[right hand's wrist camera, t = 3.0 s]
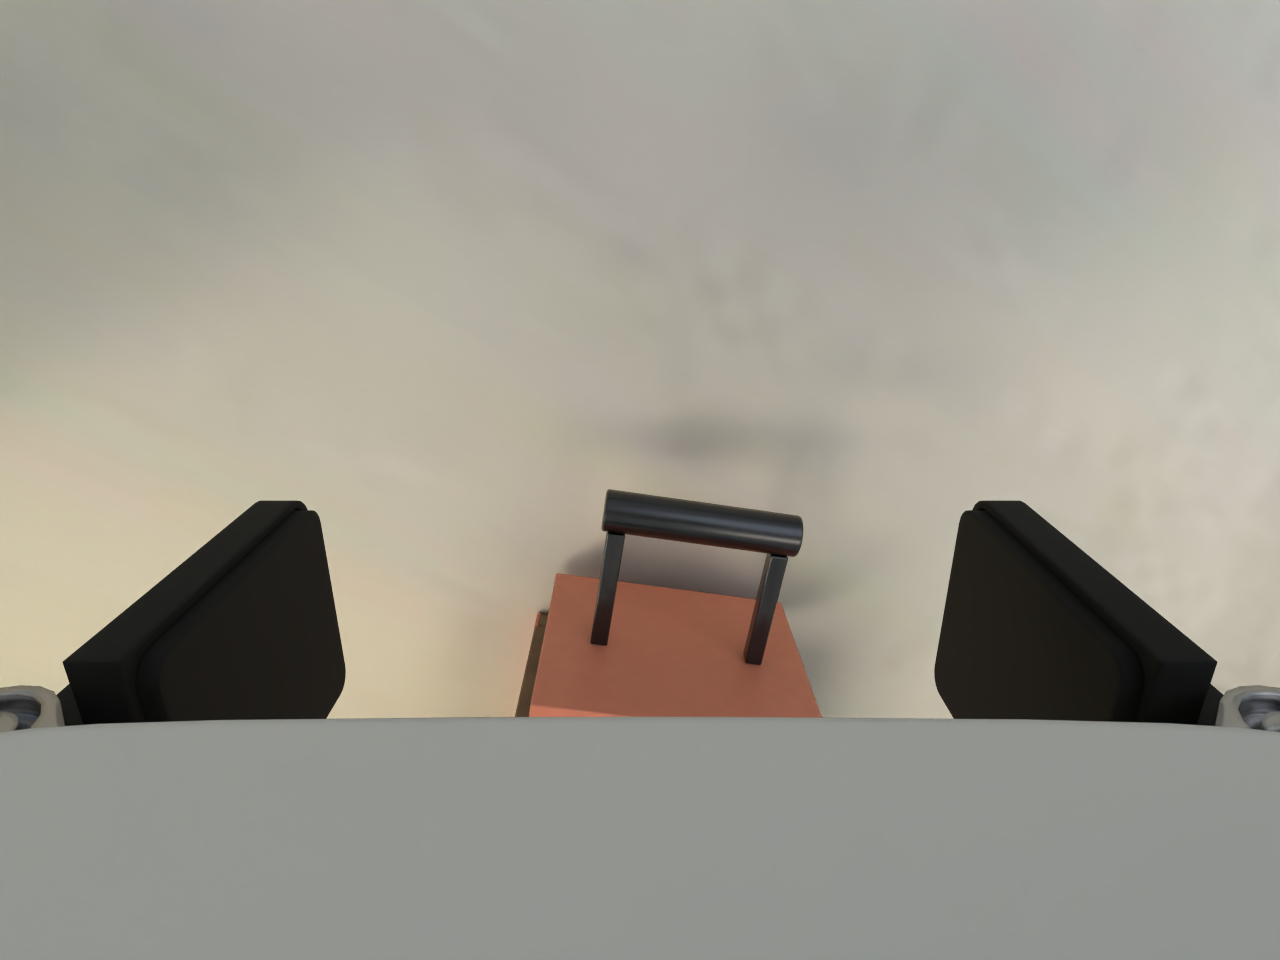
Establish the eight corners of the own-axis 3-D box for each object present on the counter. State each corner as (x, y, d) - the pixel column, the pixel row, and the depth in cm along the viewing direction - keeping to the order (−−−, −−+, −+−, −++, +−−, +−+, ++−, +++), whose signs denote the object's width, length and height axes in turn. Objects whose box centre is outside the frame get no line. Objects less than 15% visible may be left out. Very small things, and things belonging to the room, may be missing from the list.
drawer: (573, 440, 28) (550, 536, 21) (813, 475, 29) (880, 580, 21) (514, 900, 37) (482, 1090, 29) (700, 919, 38) (718, 1110, 30)
